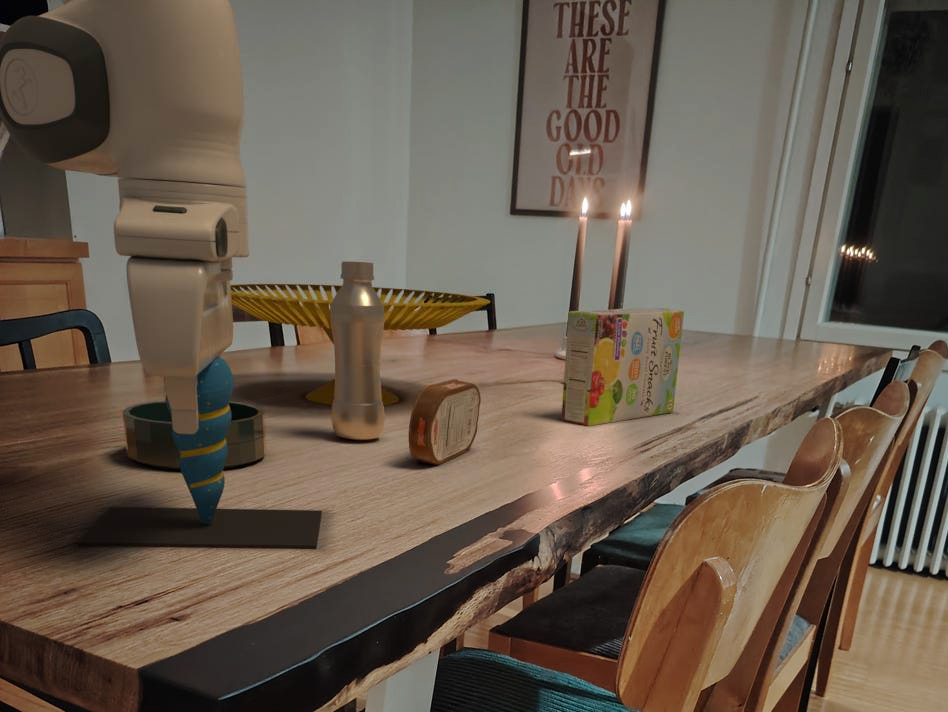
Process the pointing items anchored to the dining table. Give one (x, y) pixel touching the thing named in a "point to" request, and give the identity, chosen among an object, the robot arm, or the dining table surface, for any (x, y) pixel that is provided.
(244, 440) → the bowl
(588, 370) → the snack box
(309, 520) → the mat
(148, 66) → the robot arm
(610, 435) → the dining table surface
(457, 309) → the cake stand
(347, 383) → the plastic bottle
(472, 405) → the tin
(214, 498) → the ornament
